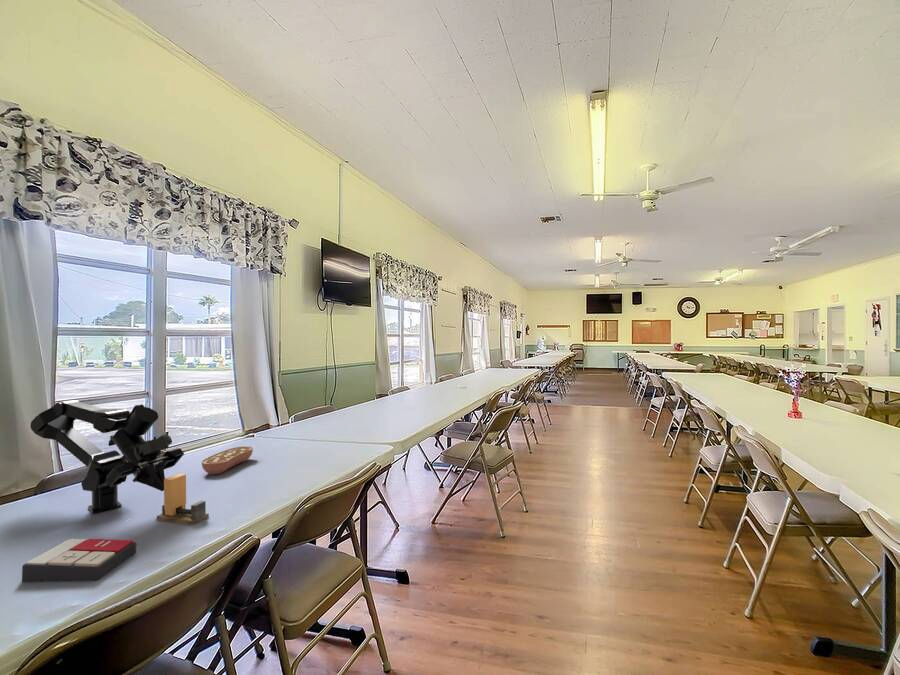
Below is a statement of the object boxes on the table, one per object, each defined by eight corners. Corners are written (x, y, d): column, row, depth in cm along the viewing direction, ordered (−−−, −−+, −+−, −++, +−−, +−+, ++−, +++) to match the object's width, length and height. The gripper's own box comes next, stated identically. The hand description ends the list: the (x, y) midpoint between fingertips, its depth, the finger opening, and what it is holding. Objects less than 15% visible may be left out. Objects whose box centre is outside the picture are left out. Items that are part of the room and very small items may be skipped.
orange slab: (164, 514, 112) (164, 478, 112) (179, 508, 116) (178, 473, 116) (171, 515, 111) (171, 479, 111) (186, 509, 115) (185, 474, 115)
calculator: (98, 564, 84) (21, 561, 84) (97, 586, 84) (20, 583, 84) (137, 538, 95) (69, 535, 95) (136, 557, 95) (68, 554, 95)
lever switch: (156, 519, 112) (156, 502, 112) (173, 512, 117) (173, 495, 117) (192, 525, 109) (192, 507, 109) (208, 517, 114) (208, 500, 114)
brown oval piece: (220, 478, 145) (219, 464, 145) (193, 477, 146) (193, 463, 146) (257, 459, 168) (257, 446, 168) (234, 458, 169) (234, 446, 169)
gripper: (113, 434, 107) (147, 482, 104) (178, 420, 125) (209, 460, 122) (91, 463, 109) (123, 510, 106) (158, 445, 127) (188, 485, 124)
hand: (164, 489), depth 115 cm, fingers closed
